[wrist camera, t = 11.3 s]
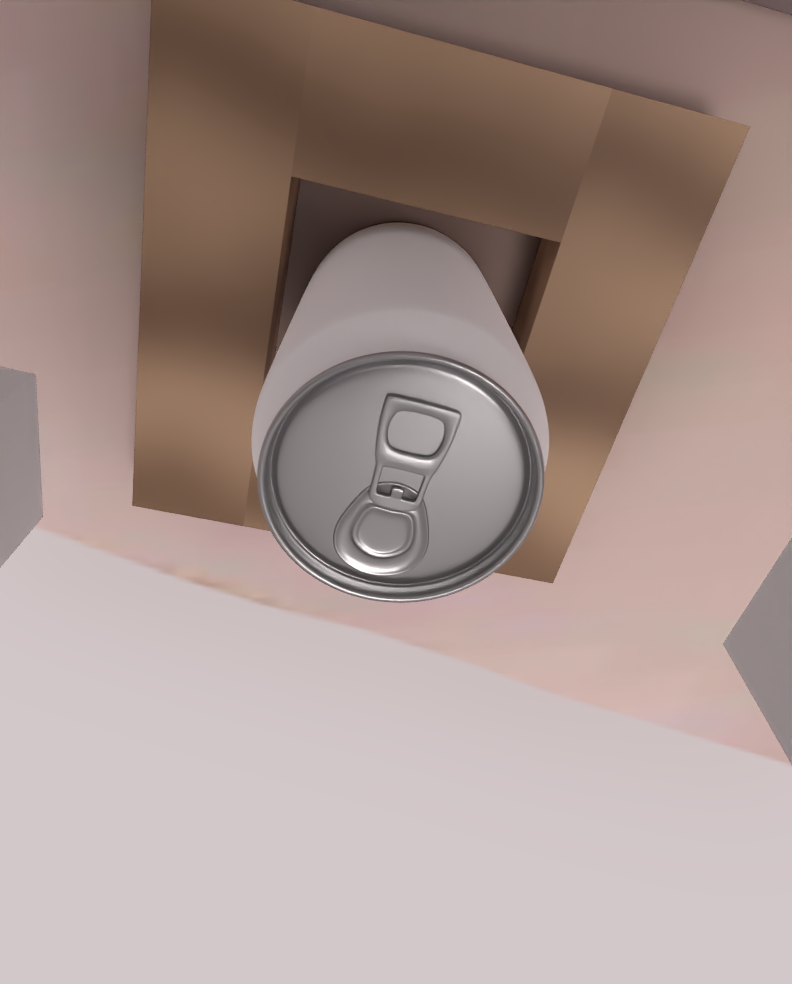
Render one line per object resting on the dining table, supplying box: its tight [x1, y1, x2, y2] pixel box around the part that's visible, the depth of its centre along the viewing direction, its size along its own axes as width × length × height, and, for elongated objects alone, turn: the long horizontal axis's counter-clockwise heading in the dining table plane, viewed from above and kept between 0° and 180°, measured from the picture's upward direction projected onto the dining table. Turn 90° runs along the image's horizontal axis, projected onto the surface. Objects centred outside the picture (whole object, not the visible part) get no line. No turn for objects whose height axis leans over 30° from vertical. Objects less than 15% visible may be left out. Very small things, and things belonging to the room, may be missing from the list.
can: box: [251, 223, 549, 603], centre depth 18 cm, size 6×6×12 cm
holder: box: [132, 0, 750, 583], centre depth 22 cm, size 16×16×2 cm
